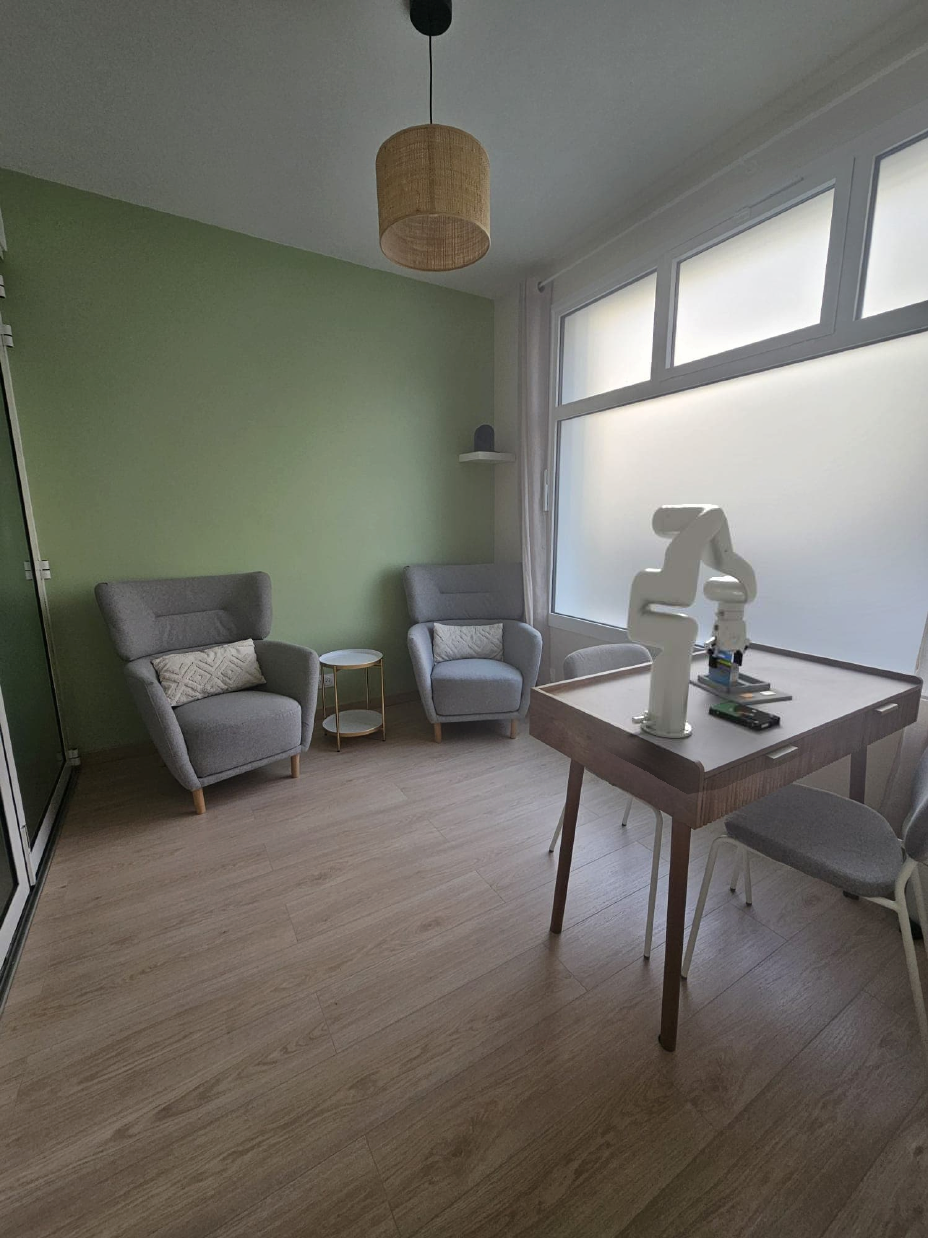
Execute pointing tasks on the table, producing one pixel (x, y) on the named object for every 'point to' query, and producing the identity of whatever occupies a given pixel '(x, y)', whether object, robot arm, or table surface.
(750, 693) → the grey compartment tray
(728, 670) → the label tape box
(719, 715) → the disk drive
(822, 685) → the table surface
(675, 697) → the robot arm
